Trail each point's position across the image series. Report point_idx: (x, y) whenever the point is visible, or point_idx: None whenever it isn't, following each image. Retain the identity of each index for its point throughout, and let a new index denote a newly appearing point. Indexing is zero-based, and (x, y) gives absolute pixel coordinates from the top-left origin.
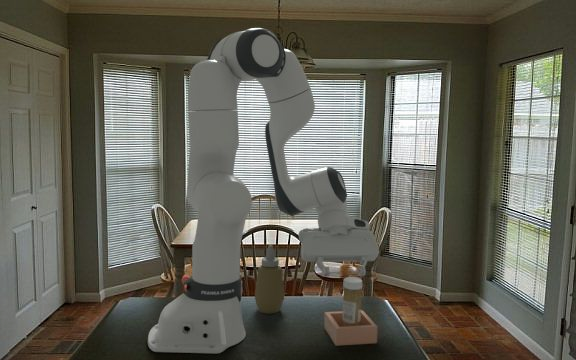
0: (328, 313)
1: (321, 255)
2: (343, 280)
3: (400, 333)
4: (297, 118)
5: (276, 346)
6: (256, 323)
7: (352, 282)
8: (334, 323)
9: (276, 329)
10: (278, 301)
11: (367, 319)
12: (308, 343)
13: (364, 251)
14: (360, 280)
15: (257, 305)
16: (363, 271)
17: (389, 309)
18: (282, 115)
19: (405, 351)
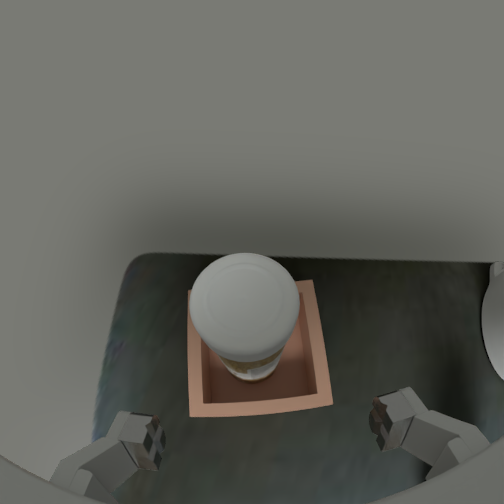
0: (321, 393)
1: (480, 452)
2: (299, 306)
3: (119, 352)
4: None
5: (427, 295)
6: (473, 403)
7: (258, 255)
8: (313, 315)
9: (437, 379)
10: None
11: (199, 341)
12: (368, 311)
13: (36, 499)
14: (204, 279)
15: None
16: (132, 415)
17: None
18: None
19: (153, 267)
